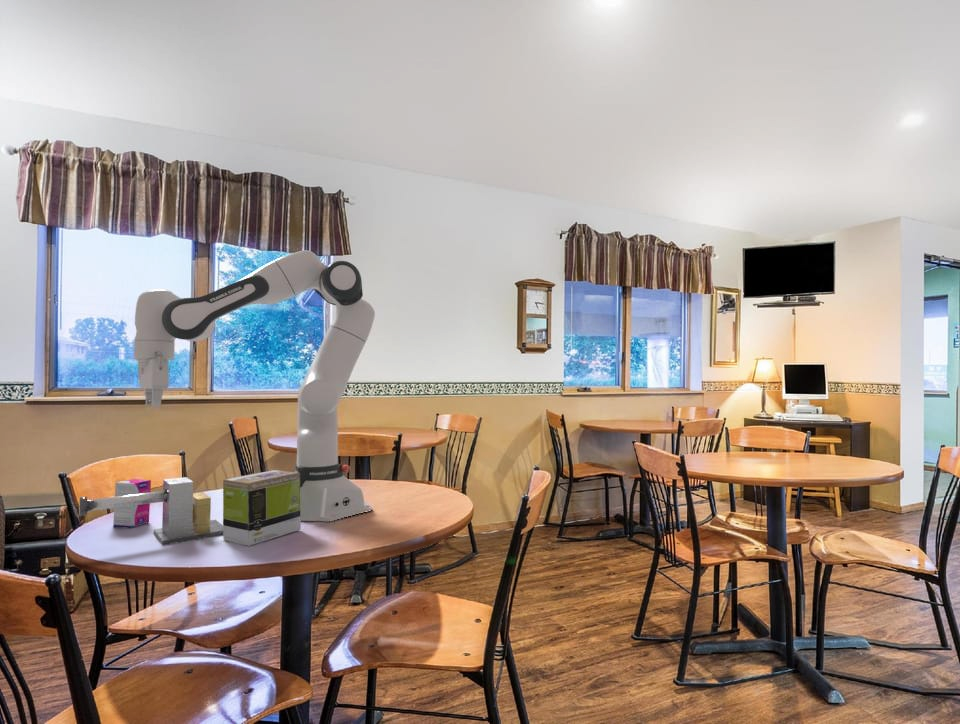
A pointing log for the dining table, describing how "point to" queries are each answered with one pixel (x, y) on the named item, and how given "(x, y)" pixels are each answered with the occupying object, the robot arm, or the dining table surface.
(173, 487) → the stand
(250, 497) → the tea box
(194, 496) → the block
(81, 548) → the dining table surface
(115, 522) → the supplement box
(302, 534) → the dining table surface
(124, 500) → the shaft
